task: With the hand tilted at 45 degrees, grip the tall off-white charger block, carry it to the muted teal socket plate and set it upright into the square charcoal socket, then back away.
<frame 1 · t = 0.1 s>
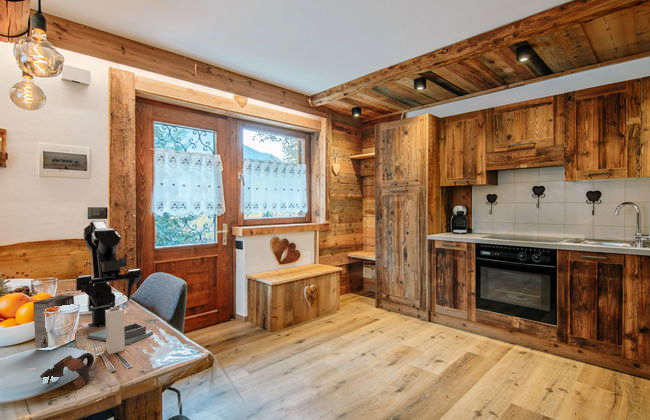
hand: (112, 302, 112), 15 cm above the table, tool tilted 35°, fingers open, 9 cm apart
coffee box: (56, 345, 114), on the table
socket plate: (120, 335, 122), on the table
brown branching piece: (71, 383, 89), on the table
charger block: (115, 350, 109), on the table
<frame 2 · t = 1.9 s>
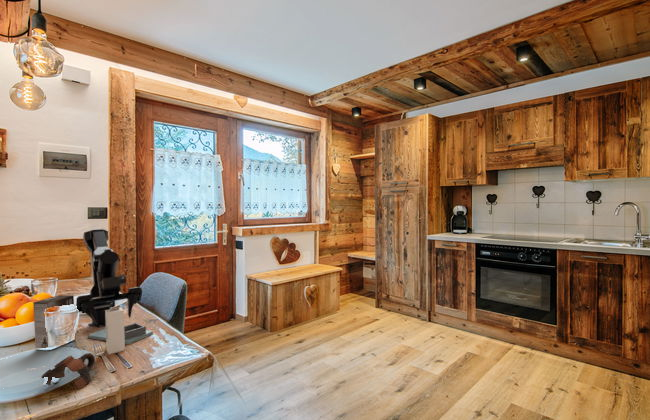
hand: (113, 320, 110), 9 cm above the table, tool tilted 45°, fingers open, 9 cm apart
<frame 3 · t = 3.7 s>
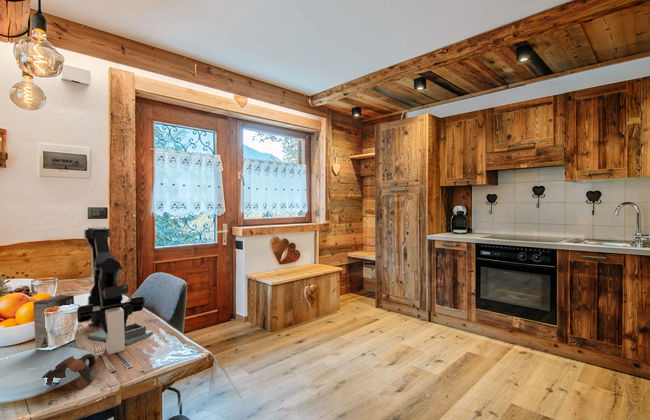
hand: (115, 331, 108), 7 cm above the table, tool tilted 45°, fingers closed on charger block, 4 cm apart
charger block: (115, 350, 109), on the table, touching gripper
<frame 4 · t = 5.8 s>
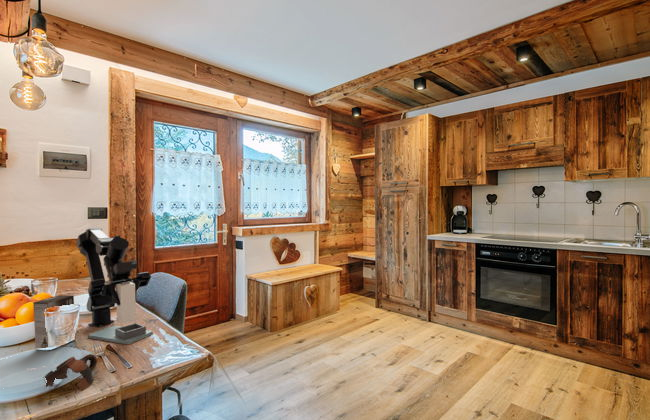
hand: (127, 303, 116), 13 cm above the table, tool tilted 45°, fingers closed on charger block, 4 cm apart
charger block: (126, 321, 117), point 7 cm above the table, touching gripper
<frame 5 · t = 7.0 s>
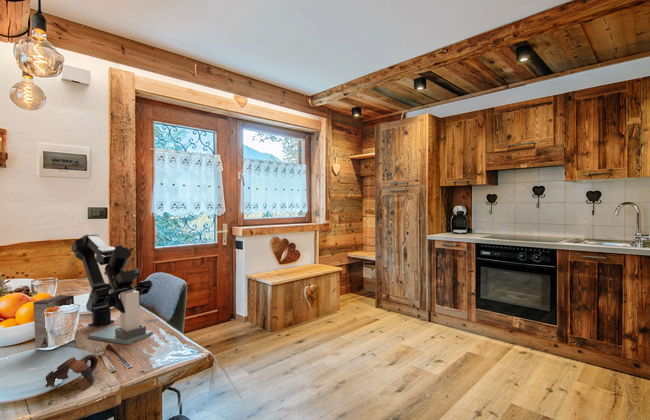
hand: (131, 310, 119), 10 cm above the table, tool tilted 45°, fingers closed on charger block, 4 cm apart
charger block: (130, 328, 120), point 3 cm above the table, touching gripper
when the fingers open (8 cm above the table, at t = 8.1 s): charger block stays where it is, resting on socket plate.
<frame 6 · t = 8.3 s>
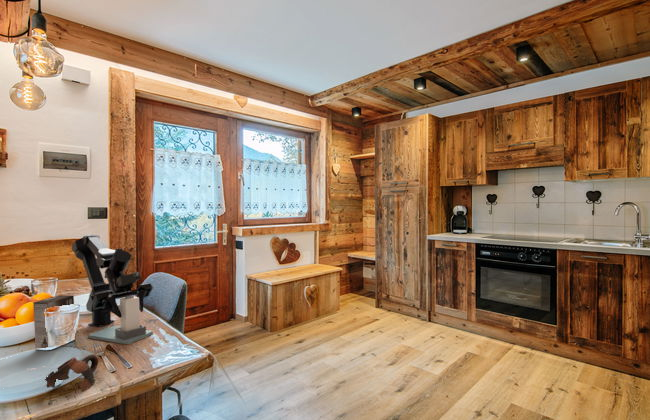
hand: (131, 314, 119), 9 cm above the table, tool tilted 45°, fingers open, 7 cm apart
charger block: (130, 334, 120), point 1 cm above the table, touching socket plate
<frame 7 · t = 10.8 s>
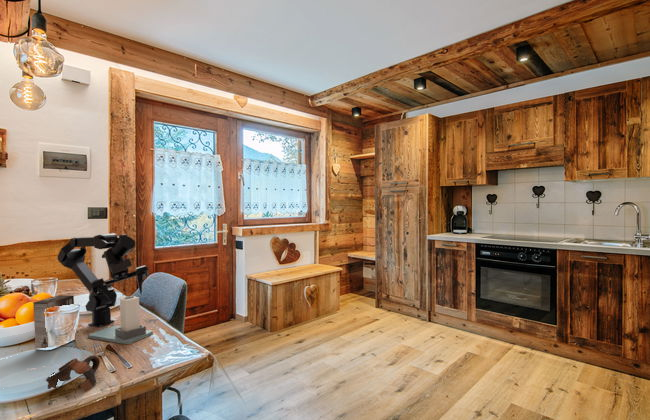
hand: (127, 298, 126), 12 cm above the table, tool tilted 35°, fingers open, 9 cm apart
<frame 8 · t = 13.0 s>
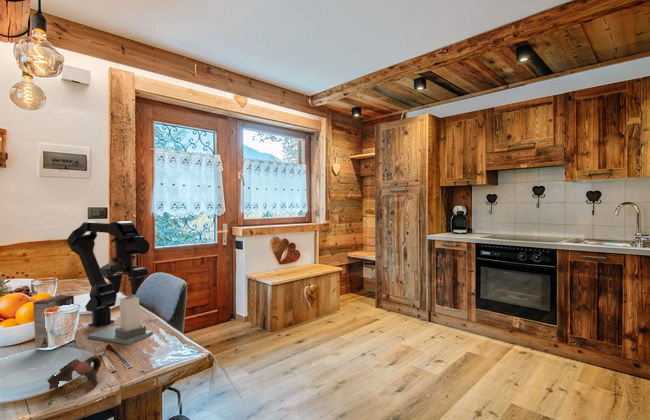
hand: (125, 294, 130), 13 cm above the table, tool pointing down, fingers open, 9 cm apart
at the end: charger block 0.0 cm from the target spot on the socket plate, point 1.0 cm above the socket plate's base; charger block tilted 0°; the gripper is holding nothing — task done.
